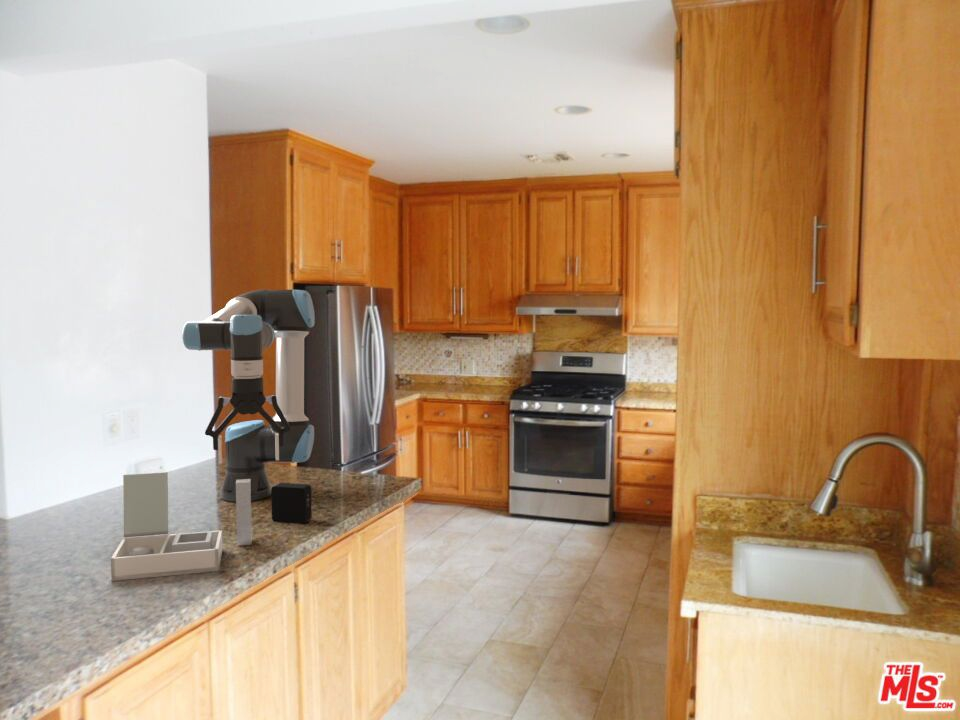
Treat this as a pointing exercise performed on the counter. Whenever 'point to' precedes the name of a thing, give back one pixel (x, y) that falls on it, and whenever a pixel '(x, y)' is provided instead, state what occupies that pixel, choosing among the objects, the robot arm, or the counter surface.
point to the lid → (145, 504)
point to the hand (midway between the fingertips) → (249, 461)
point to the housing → (167, 555)
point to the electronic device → (291, 503)
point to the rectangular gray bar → (243, 512)
